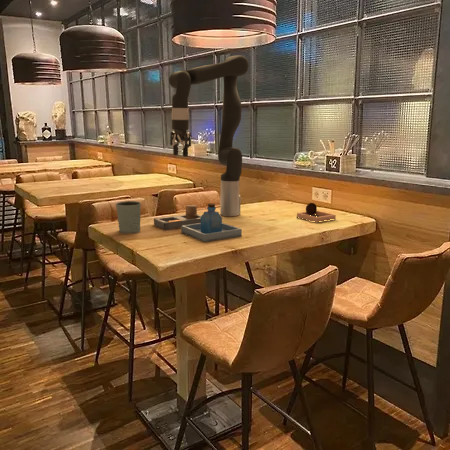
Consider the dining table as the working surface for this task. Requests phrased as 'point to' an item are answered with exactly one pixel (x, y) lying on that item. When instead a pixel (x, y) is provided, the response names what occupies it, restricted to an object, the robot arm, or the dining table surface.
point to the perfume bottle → (211, 220)
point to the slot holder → (175, 221)
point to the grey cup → (129, 216)
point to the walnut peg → (191, 211)
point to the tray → (196, 233)
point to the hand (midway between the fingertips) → (180, 155)
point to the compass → (311, 209)
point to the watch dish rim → (323, 217)
